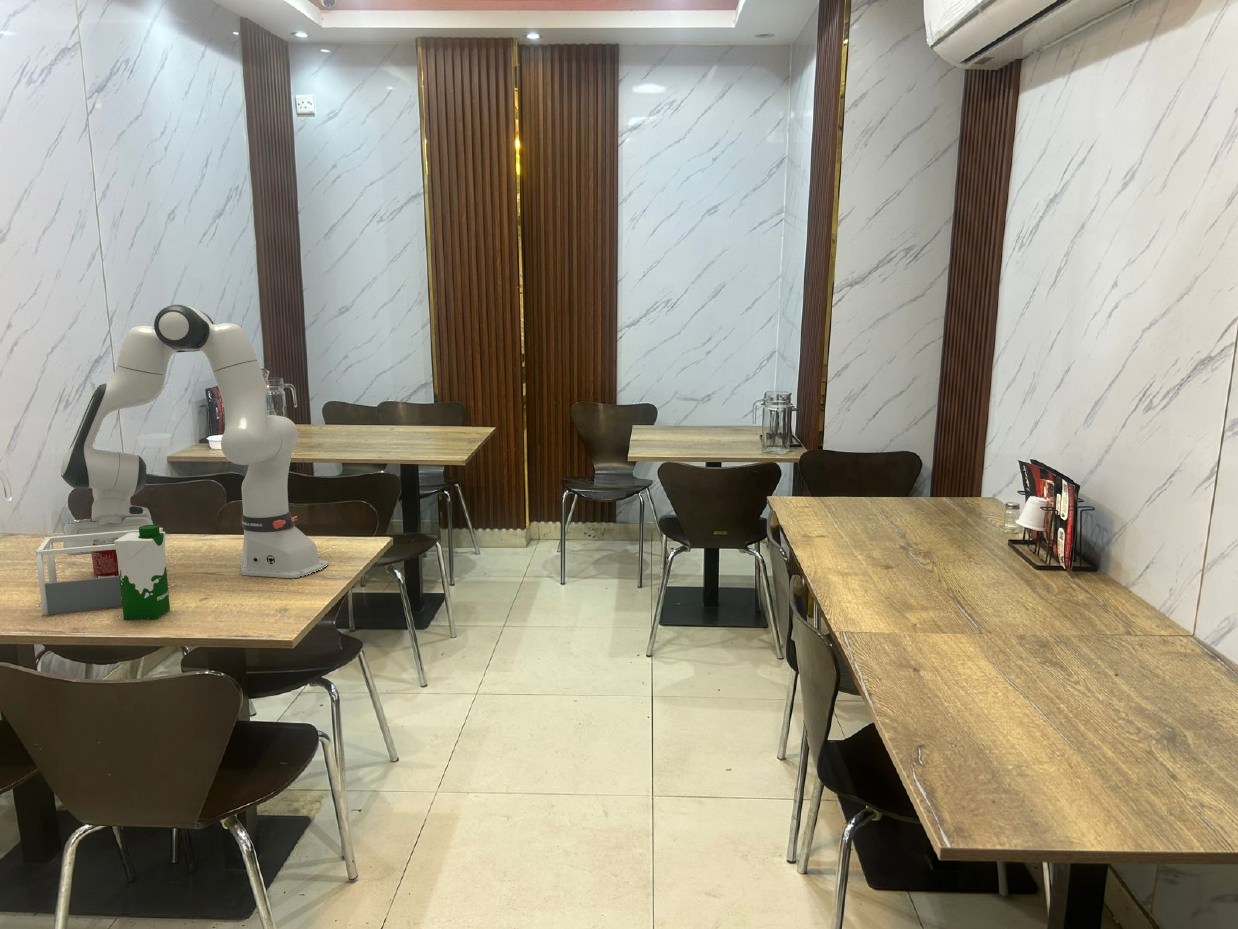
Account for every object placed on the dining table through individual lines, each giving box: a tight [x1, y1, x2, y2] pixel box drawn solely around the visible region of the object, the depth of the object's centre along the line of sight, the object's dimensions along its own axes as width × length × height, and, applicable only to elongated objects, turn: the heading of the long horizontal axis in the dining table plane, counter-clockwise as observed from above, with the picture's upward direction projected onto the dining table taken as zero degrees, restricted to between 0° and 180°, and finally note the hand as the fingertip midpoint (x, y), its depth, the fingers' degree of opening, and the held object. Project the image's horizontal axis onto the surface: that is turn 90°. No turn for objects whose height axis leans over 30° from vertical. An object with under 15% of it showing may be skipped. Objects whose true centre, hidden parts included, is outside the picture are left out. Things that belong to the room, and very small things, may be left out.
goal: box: [35, 527, 164, 616], centre depth 215 cm, size 13×25×15 cm, turn 113°
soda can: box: [90, 537, 119, 578], centre depth 224 cm, size 7×7×12 cm
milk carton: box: [114, 524, 171, 621], centre depth 205 cm, size 9×9×20 cm
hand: (110, 565), depth 227 cm, fingers closed, pressing on soda can
